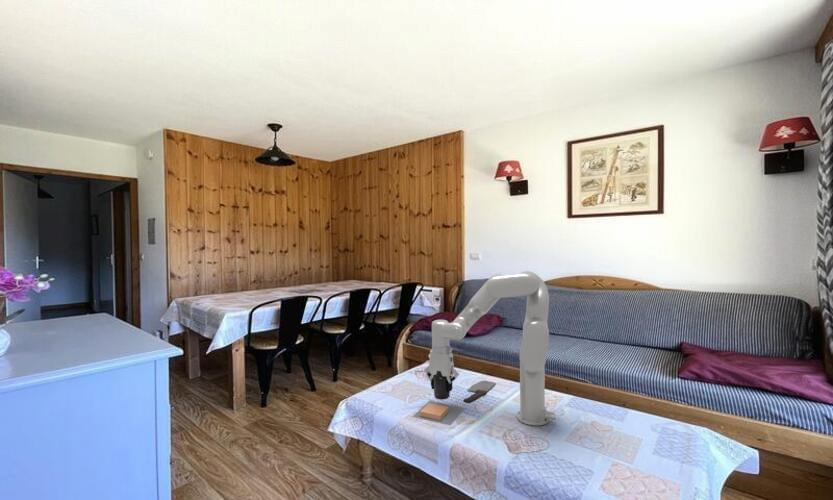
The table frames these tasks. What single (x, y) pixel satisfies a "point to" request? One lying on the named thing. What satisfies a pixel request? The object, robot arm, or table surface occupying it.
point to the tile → (434, 411)
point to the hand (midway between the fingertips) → (441, 389)
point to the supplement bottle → (440, 386)
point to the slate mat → (448, 418)
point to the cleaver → (479, 390)
